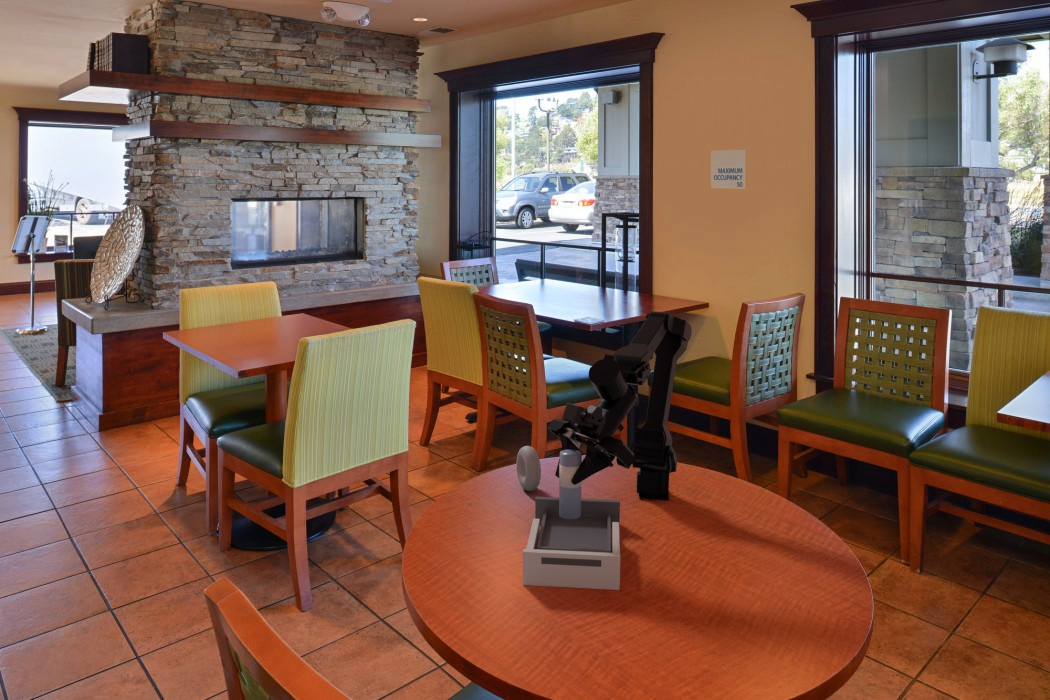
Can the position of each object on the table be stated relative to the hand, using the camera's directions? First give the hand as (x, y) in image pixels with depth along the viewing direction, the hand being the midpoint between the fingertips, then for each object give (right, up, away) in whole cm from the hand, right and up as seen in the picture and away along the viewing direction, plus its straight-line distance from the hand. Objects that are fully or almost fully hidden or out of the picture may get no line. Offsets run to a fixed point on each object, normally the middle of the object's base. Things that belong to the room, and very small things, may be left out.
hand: (564, 480), depth 144 cm
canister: (+1, -7, +2) cm, 7 cm away
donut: (-6, -8, +32) cm, 34 cm away
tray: (+2, -13, +6) cm, 14 cm away
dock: (+2, -14, -1) cm, 14 cm away
